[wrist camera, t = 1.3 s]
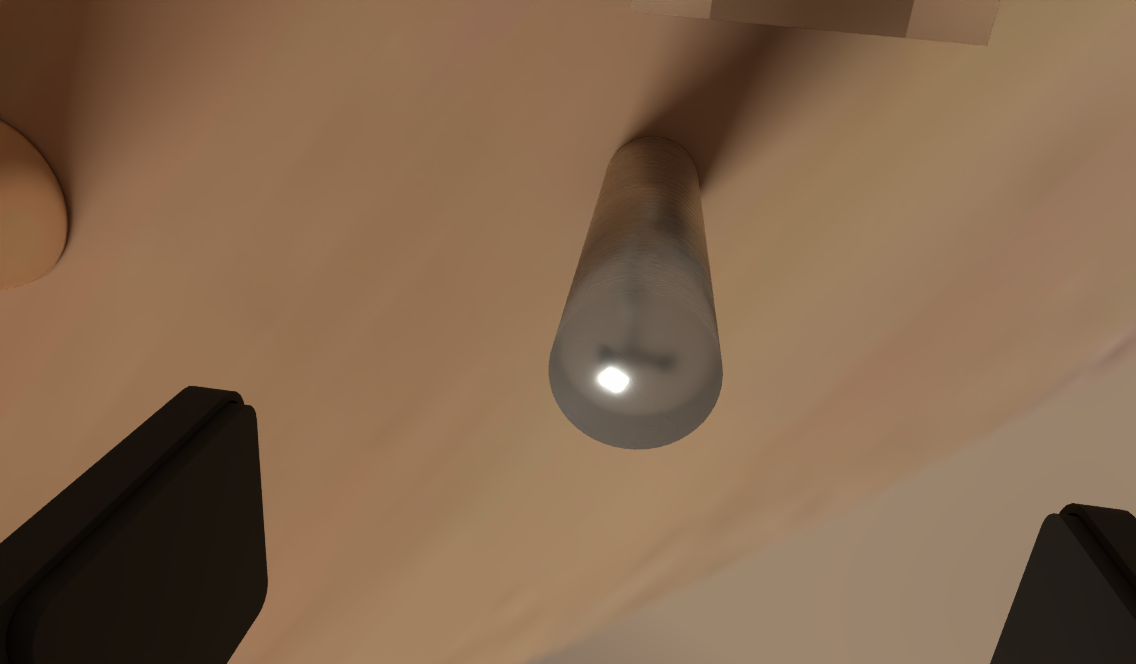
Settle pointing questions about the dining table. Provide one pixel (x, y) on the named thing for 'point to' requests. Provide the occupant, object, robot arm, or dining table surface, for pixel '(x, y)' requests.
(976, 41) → the walnut block
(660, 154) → the steel pin
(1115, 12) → the dining table surface
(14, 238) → the beer glass
